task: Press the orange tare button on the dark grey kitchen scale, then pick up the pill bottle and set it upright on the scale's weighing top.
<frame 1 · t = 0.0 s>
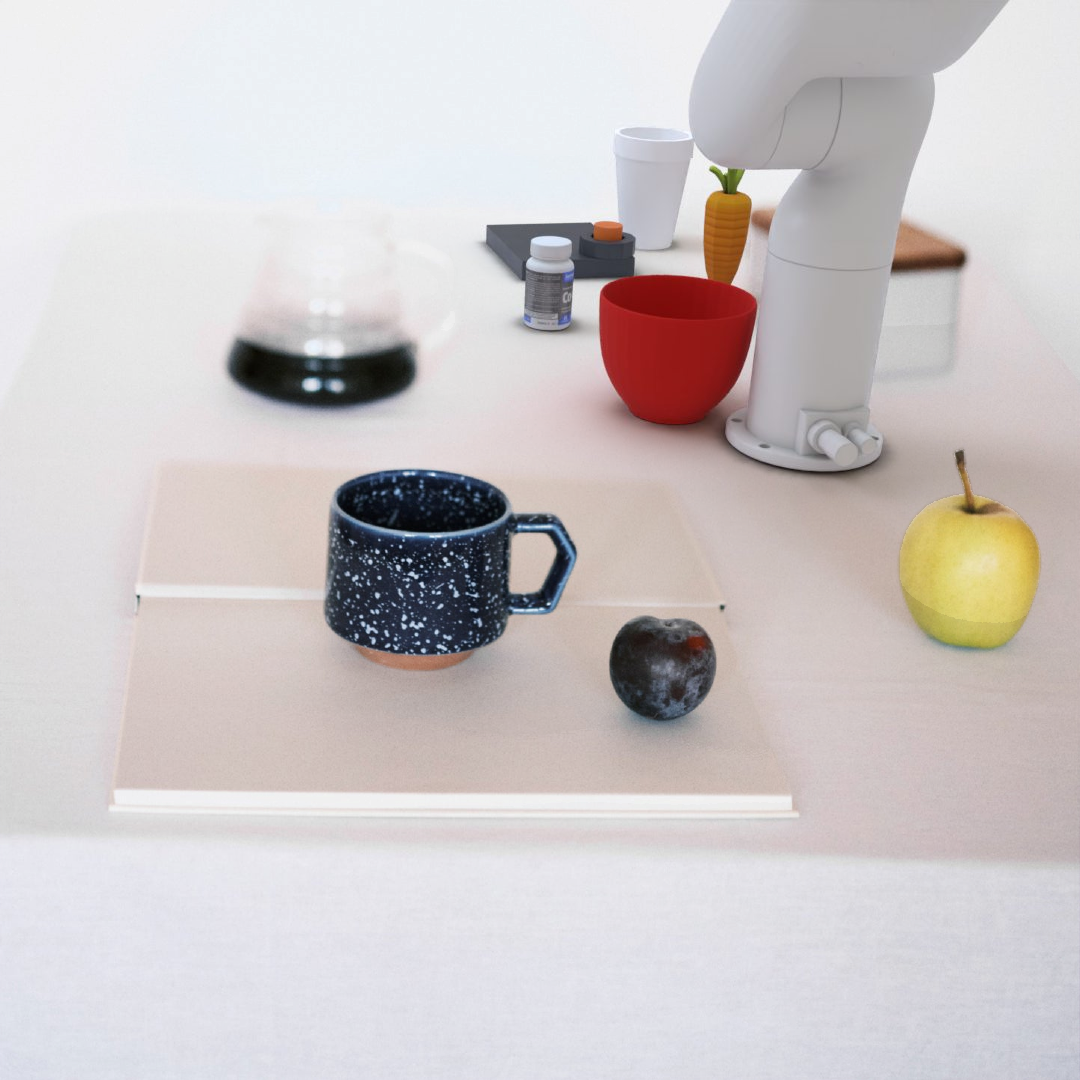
carrot: (718, 300, 148), on the table
pill bottle: (547, 325, 137), on the table
foam cup: (645, 244, 168), on the table
ceramic cup: (677, 405, 119), on the table
scale: (557, 259, 159), on the table
tare button: (608, 232, 153), point 4 cm above the table, slide at 0.1 cm
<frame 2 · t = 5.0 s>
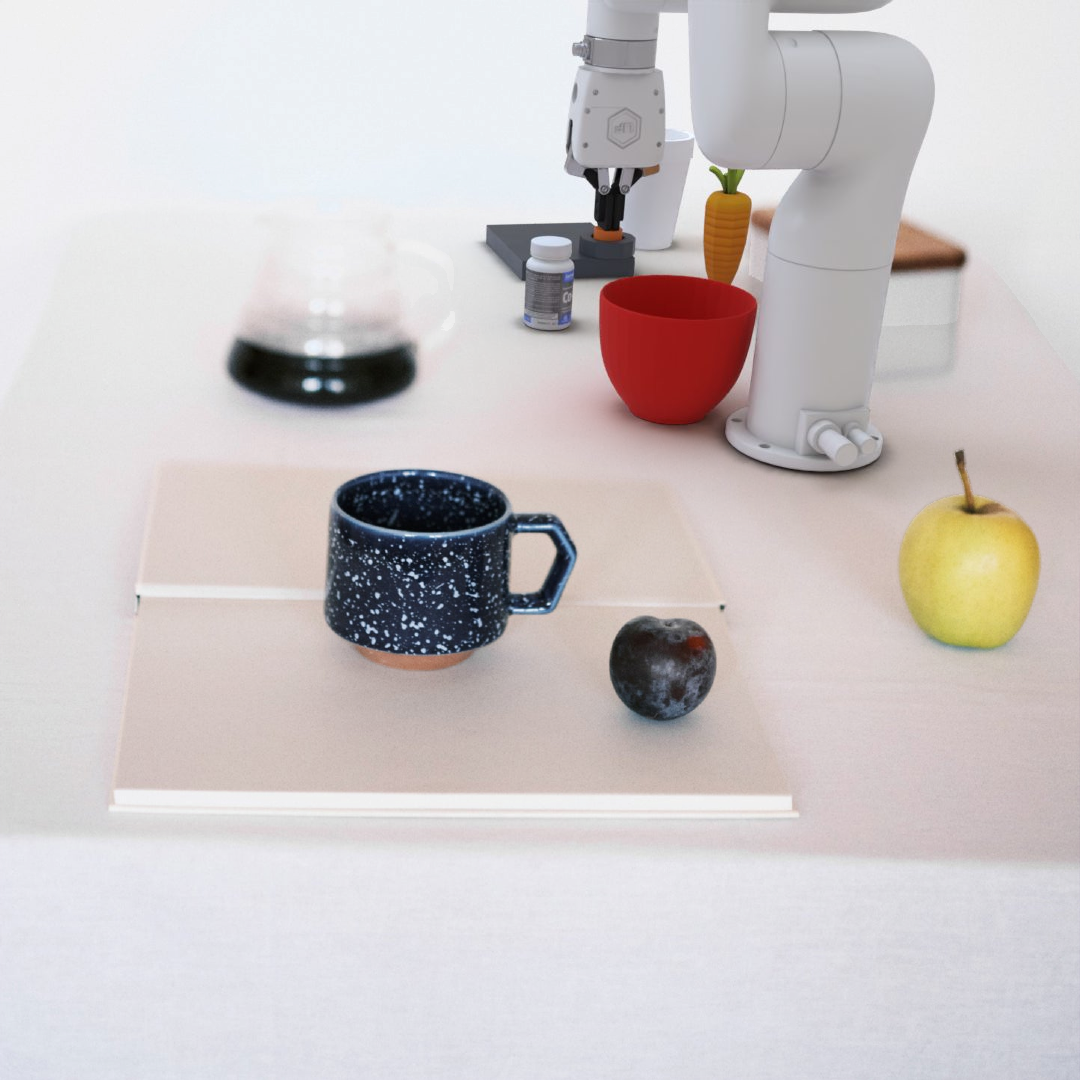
hand: (608, 227, 153), 5 cm above the table, tool pointing down, fingers closed
tare button: (607, 236, 153), point 4 cm above the table, slide at -0.3 cm, touching gripper
everything else where it was.
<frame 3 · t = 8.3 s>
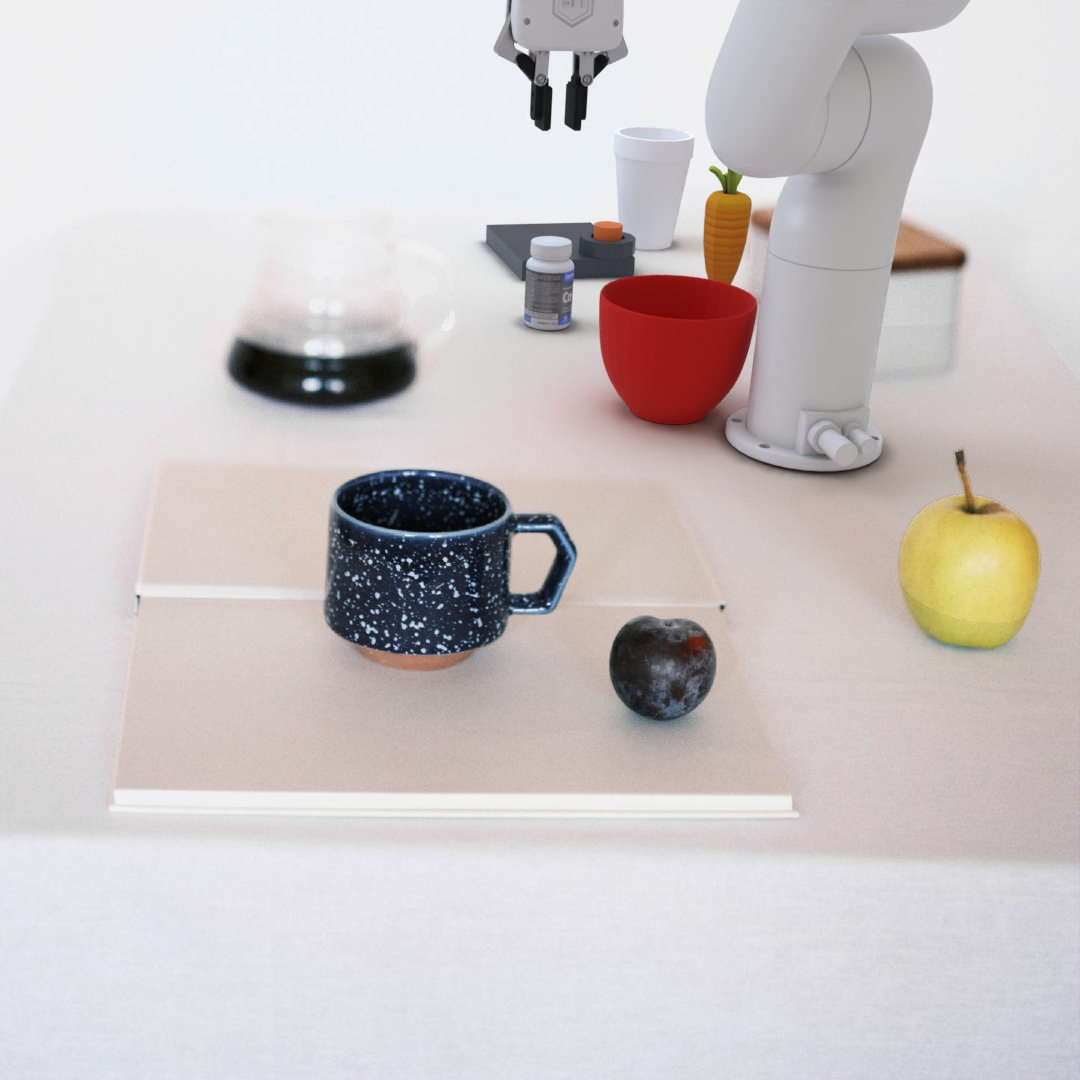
hand: (557, 126, 128), 19 cm above the table, tool pointing down, fingers closed
tare button: (608, 232, 153), point 4 cm above the table, slide at 0.1 cm
everything else where it was.
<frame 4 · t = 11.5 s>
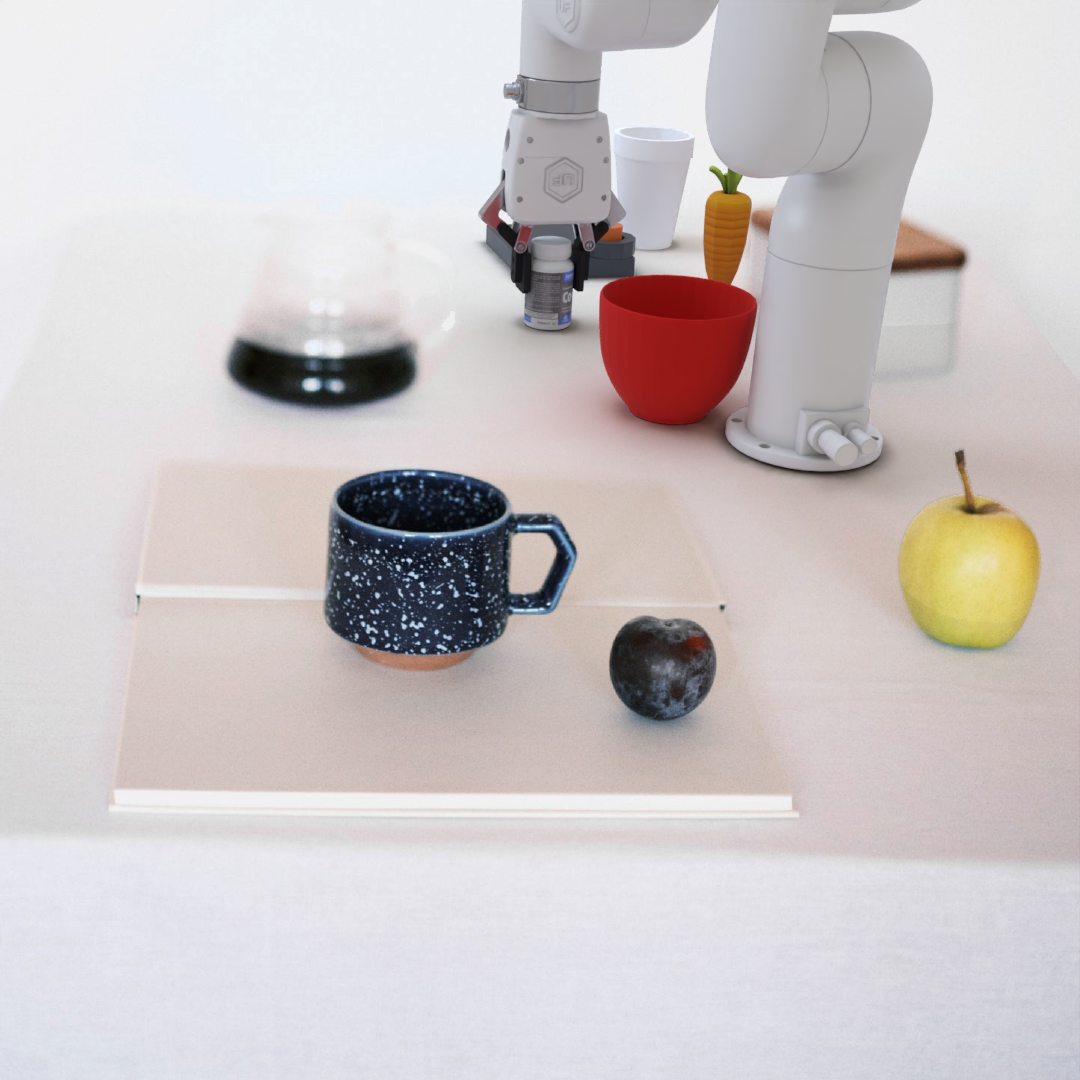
hand: (549, 286, 135), 4 cm above the table, tool pointing down, fingers closed on pill bottle, 4 cm apart
pill bottle: (547, 325, 137), on the table, touching gripper
everything else where it was.
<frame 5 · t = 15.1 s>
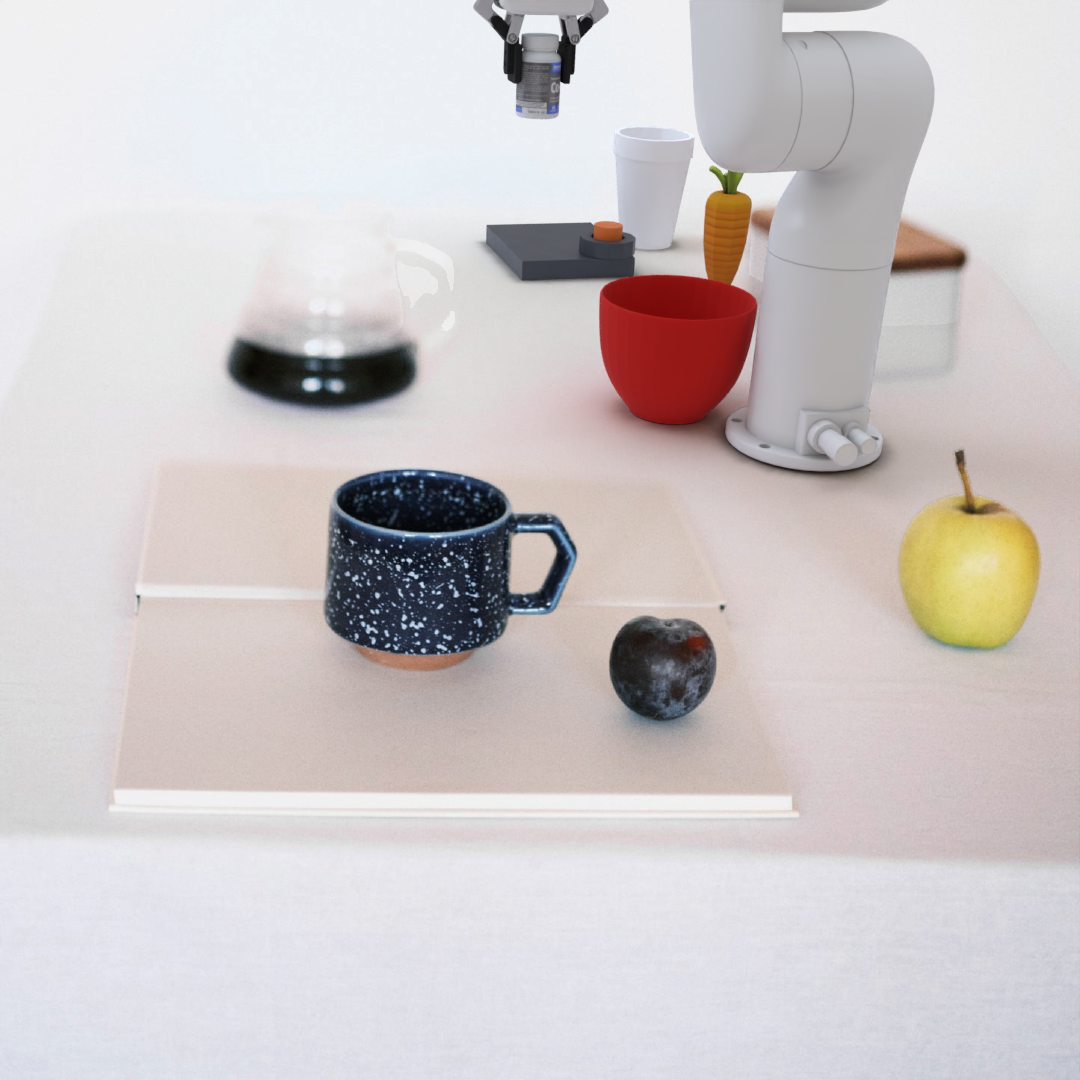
hand: (538, 80, 148), 20 cm above the table, tool pointing down, fingers closed on pill bottle, 4 cm apart
pill bottle: (537, 118, 149), point 16 cm above the table, touching gripper
everything else where it was.
when the fingers open (6 cm above the table, at t = 18.9 s): pill bottle stays where it is, resting on scale.
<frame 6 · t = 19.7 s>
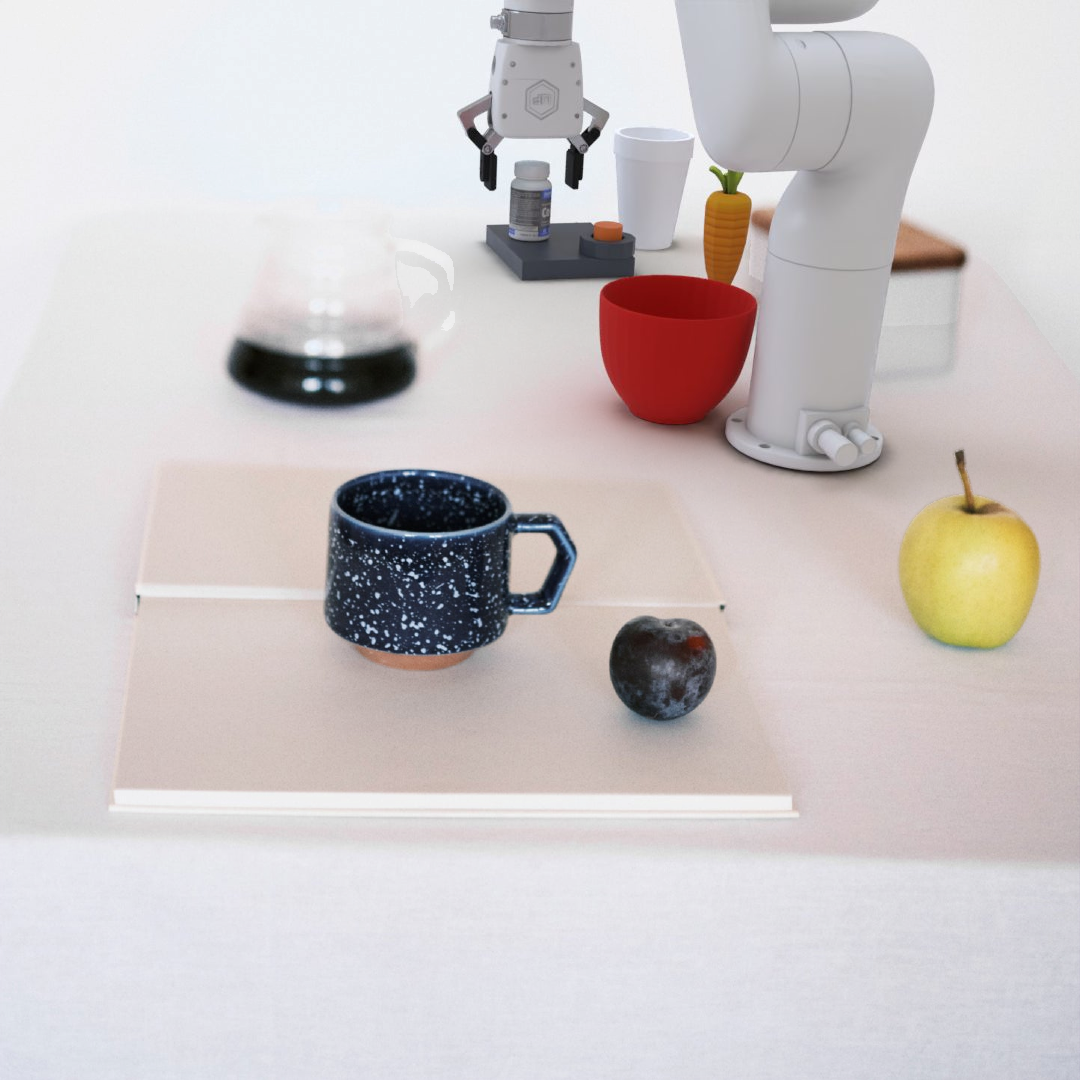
hand: (530, 187, 156), 8 cm above the table, tool pointing down, fingers open, 9 cm apart
pill bottle: (529, 238, 159), point 2 cm above the table, touching scale
everything else where it was.
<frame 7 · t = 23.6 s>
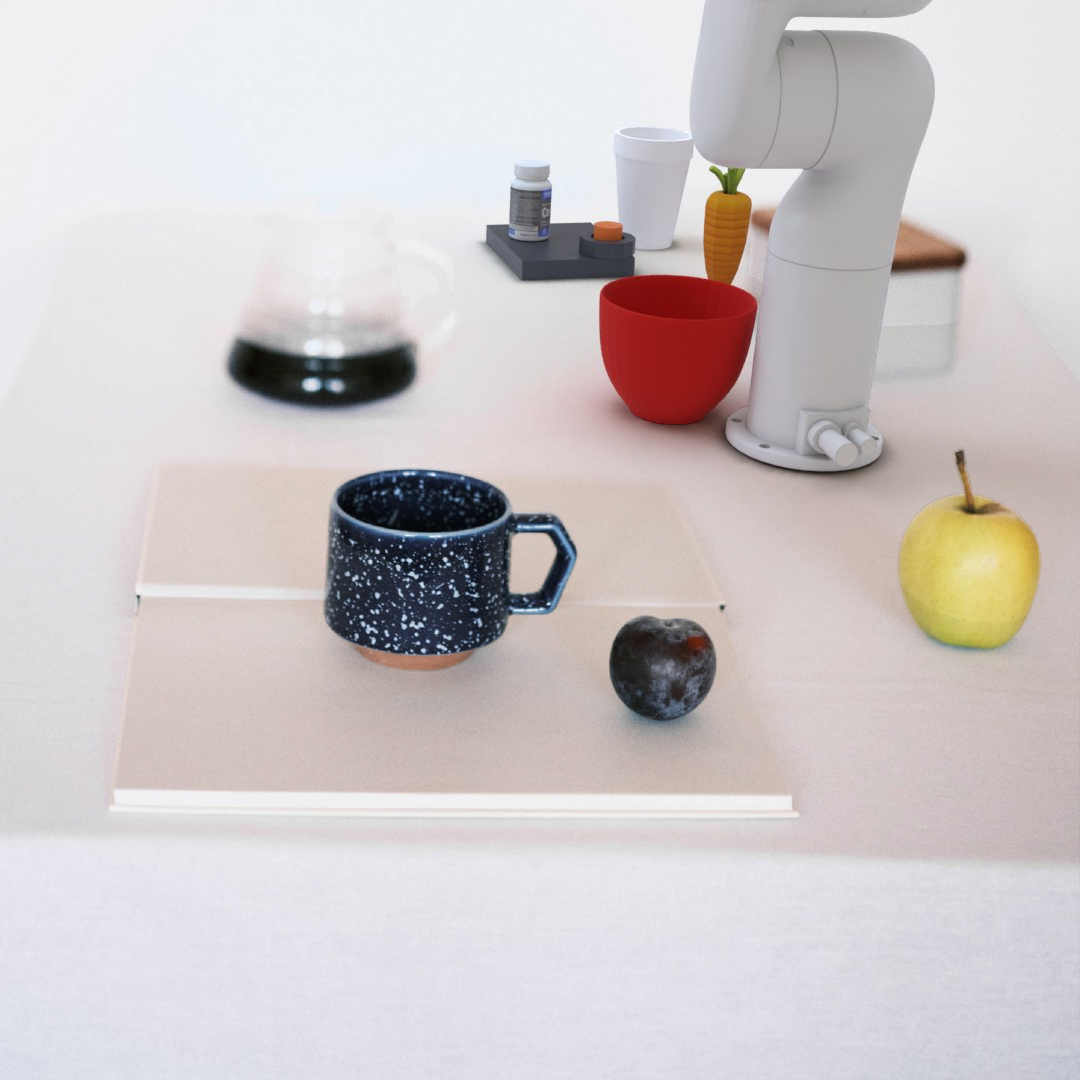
nothing on the table moved.
at the end: tare button pushed in 1.1 cm at the most during the clip, back to where it started at the end; pill bottle inside the target area on the scale (3.6 cm from its centre), point 2.0 cm above the scale's base; pill bottle touching scale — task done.
